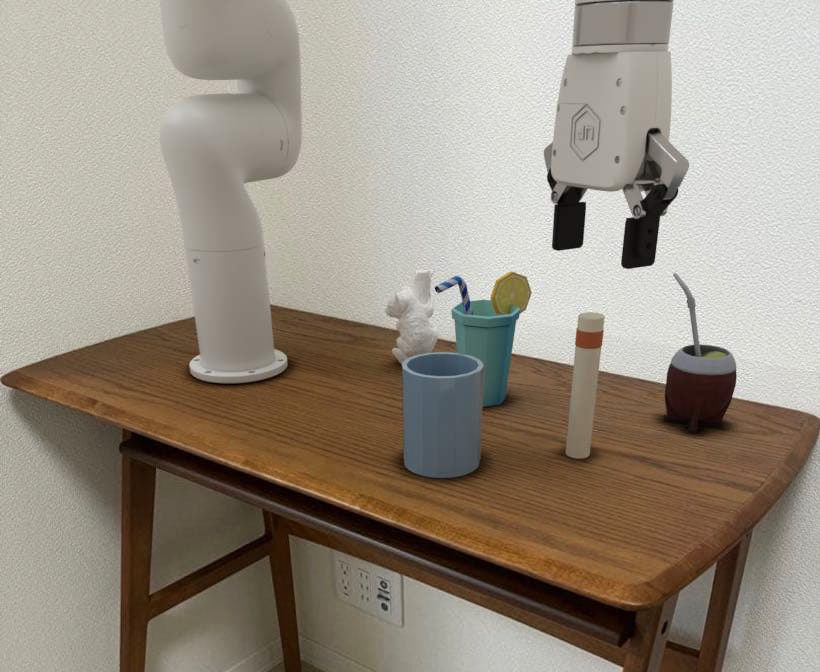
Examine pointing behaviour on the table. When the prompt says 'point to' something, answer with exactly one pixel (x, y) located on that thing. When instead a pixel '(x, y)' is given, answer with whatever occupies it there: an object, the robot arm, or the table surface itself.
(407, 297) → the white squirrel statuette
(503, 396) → the cup
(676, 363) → the mate gourd
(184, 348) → the table surface
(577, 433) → the beige cylinder rod
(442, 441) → the tumbler
